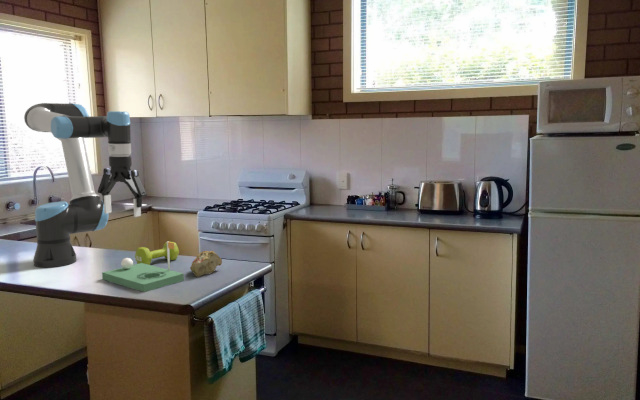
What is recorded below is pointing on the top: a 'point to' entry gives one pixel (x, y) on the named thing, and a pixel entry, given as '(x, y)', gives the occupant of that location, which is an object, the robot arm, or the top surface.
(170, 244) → the flag
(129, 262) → the ball
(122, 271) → the mat
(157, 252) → the dumbbell
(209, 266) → the rock
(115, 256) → the top surface
